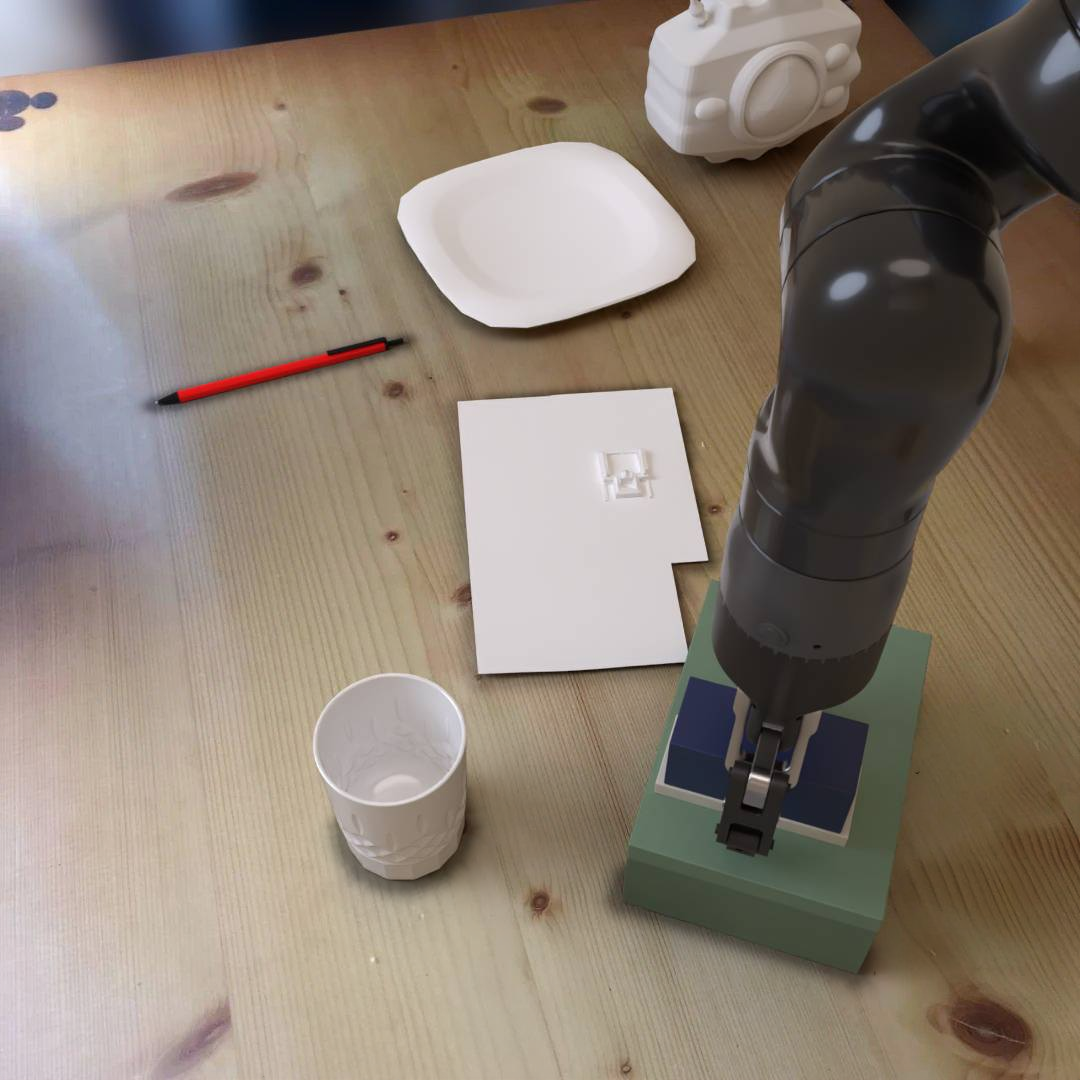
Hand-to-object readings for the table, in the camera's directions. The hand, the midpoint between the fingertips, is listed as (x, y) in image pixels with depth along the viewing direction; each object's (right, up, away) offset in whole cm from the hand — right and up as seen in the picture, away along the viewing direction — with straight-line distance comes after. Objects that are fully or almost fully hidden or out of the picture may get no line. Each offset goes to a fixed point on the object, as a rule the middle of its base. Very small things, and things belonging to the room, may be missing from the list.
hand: (760, 771), depth 68 cm
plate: (-11, +37, +41) cm, 56 cm away
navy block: (0, -1, +1) cm, 1 cm away
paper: (-8, +13, +22) cm, 27 cm away
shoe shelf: (+2, -3, +8) cm, 9 cm away
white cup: (-19, -4, +7) cm, 21 cm away
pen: (-31, +24, +31) cm, 50 cm away
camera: (+7, +47, +49) cm, 68 cm away
